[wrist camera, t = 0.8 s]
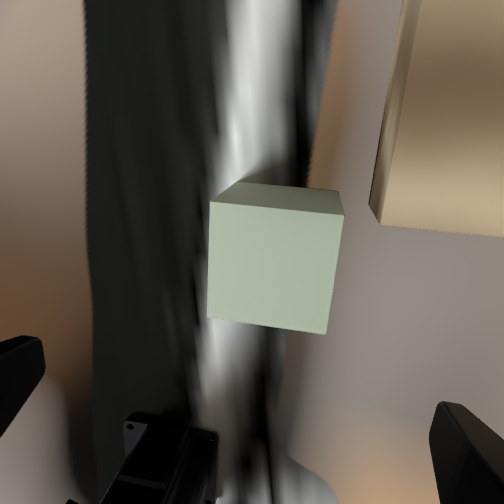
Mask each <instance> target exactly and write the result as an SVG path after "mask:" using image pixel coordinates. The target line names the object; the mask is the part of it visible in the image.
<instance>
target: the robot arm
mask: <svg viewBox="0 0 504 504" xmlns="http://www.w3.org/2000/svg"><path fill="white" fill-rule="evenodd" d="M45 368H46V365H45V359H44V351H43V346H42V341H41V340H40V339H39V338H37V337H33V336H27V335H21V336H18V337H14V338H11V339H8V340H5V341H1V342H0V437H1V436H2V435H3V434H4V432H5V431H6V429H7V428H8V427H9V425H10V424H11V422H12V421H13V419H14V418H15V417H16V415H17V414H18V412H19V411H20V409H21V408H22V406H23V405H24V403H25V402H26V401H27V399H28V398H29V396H30V395H31V393H32V392H33V390H34V389H35V387H36V386H37V385H38V383H39V382H40V380H41V378H42V377H43V375H44V373H45ZM131 424H132V425H131ZM123 430H124V444H125V458H126V459H125V461H124V463H123V464H122V466H121V468H120V470H119V471H118V473H117V475H116V477H115V478H114V480H113V482H112V484H111V485H110V487H109V489H108V491H107V492H106V494H105V496H104V498H103V499H102V501H101V503H100V504H215V503H216V499H217V481H218V459H219V436H218V435H217V434H216V433H214V432H211V431H206V430H201V429H196V428H190V427H185V426H180V425H175V424H169V423H164V422H159V421H154V420H149V419H143V418H138V417H133V416H130V417H128V418H127V419H126V420H125V422H124V424H123ZM210 439H211V440H210ZM212 440H213V441H212ZM429 445H430V451H431V456H432V461H433V467H434V472H435V478H436V483H437V489H438V494H439V499H440V504H504V440H503V439H502V438H501V437H500V436H499V435H498V434H496V433H495V432H494V431H493V430H492V429H490V428H489V427H488V426H487V425H485V424H484V423H483V422H482V421H481V420H480V419H479V418H477V417H476V416H475V415H474V414H473V413H471V412H470V411H469V410H468V409H467V408H465V407H464V406H463V405H461V404H457V403H450V402H445V401H442V402H439V404H438V405H437V407H436V411H435V414H434V418H433V421H432V425H431V428H430V432H429ZM66 504H78V503H77V502H75V501H73V500H71V499H69V500H68V501H67V503H66Z"/></svg>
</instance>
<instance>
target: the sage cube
mask: <svg viewBox="0 0 504 504" xmlns="http://www.w3.org/2000/svg"><path fill="white" fill-rule="evenodd" d="M343 222H344V212H343V208H342V204H341V200H340V197H339V192H338V191H334V190H323V189H314V188H300V187H290V186H279V185H268V184H258V183H247V182H236V183H234V184H233V185H232V186H230V187H229V188H228V189H226V190H225V191H224V192H222V193H221V194H220V195H218V196H217V197H216V198H214V199H213V200H212V201H210V225H209V263H208V301H207V317H209V318H216V319H223V320H229V321H236V322H243V323H250V324H257V325H263V326H270V327H277V328H284V329H290V330H297V331H304V332H311V333H318V334H324V335H326V331H327V325H328V318H329V312H330V305H331V298H332V293H333V286H334V280H335V273H336V267H337V260H338V254H339V247H340V241H341V234H342V228H343Z"/></svg>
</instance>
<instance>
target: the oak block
mask: <svg viewBox="0 0 504 504" xmlns="http://www.w3.org/2000/svg"><path fill="white" fill-rule="evenodd" d="M368 204H369V206H370V208H371V210H372V211H373V213H374V215H375V217H376V219H377V220H378V222H379V224H380V225H382V226H392V227H402V228H403V227H404V228H412V229H423V230H433V231H443V232H454V233H463V234H474V235H484V236H495V237H504V0H402V5H401V11H400V17H399V23H398V29H397V35H396V41H395V47H394V53H393V59H392V65H391V71H390V77H389V82H388V88H387V95H386V101H385V106H384V113H383V119H382V124H381V131H380V136H379V142H378V148H377V155H376V160H375V166H374V172H373V178H372V184H371V190H370V196H369V202H368Z"/></svg>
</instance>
